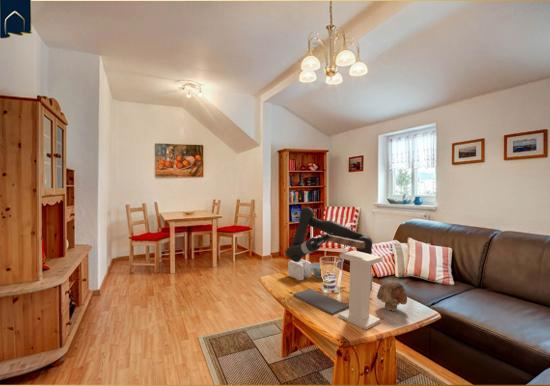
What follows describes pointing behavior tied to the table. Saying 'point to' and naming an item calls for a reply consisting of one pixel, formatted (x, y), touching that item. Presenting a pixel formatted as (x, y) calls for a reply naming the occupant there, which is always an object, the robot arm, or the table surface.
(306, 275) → the cable organizer
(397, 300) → the sculpture
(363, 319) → the stand
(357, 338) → the table surface
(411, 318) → the table surface
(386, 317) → the table surface
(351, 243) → the walnut bar
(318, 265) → the chinaware
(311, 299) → the rubber mat
